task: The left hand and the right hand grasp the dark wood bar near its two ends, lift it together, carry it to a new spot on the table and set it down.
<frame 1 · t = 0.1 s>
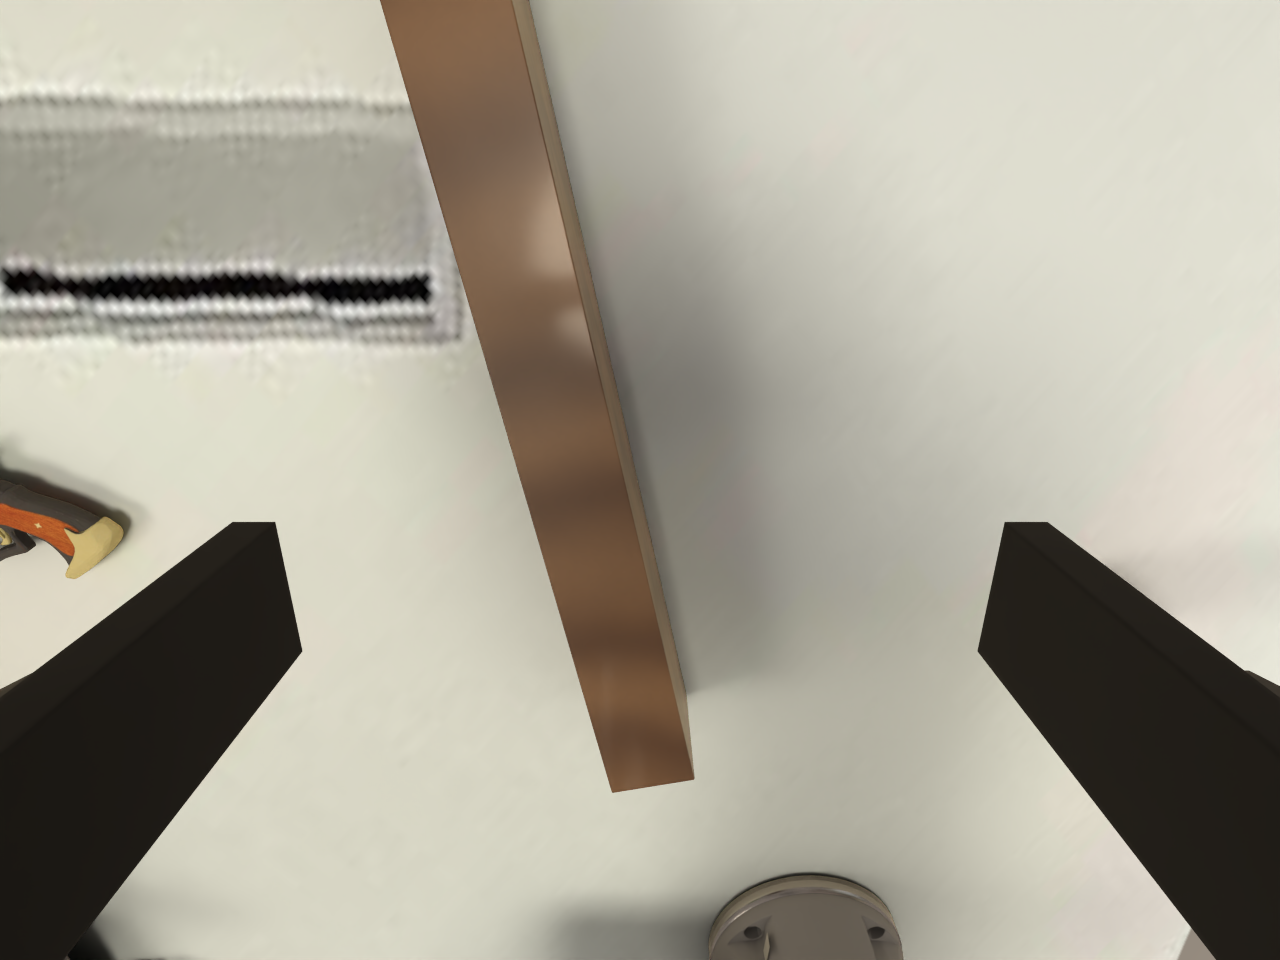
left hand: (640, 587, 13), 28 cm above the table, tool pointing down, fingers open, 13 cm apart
bar: (514, 156, 35), on the table
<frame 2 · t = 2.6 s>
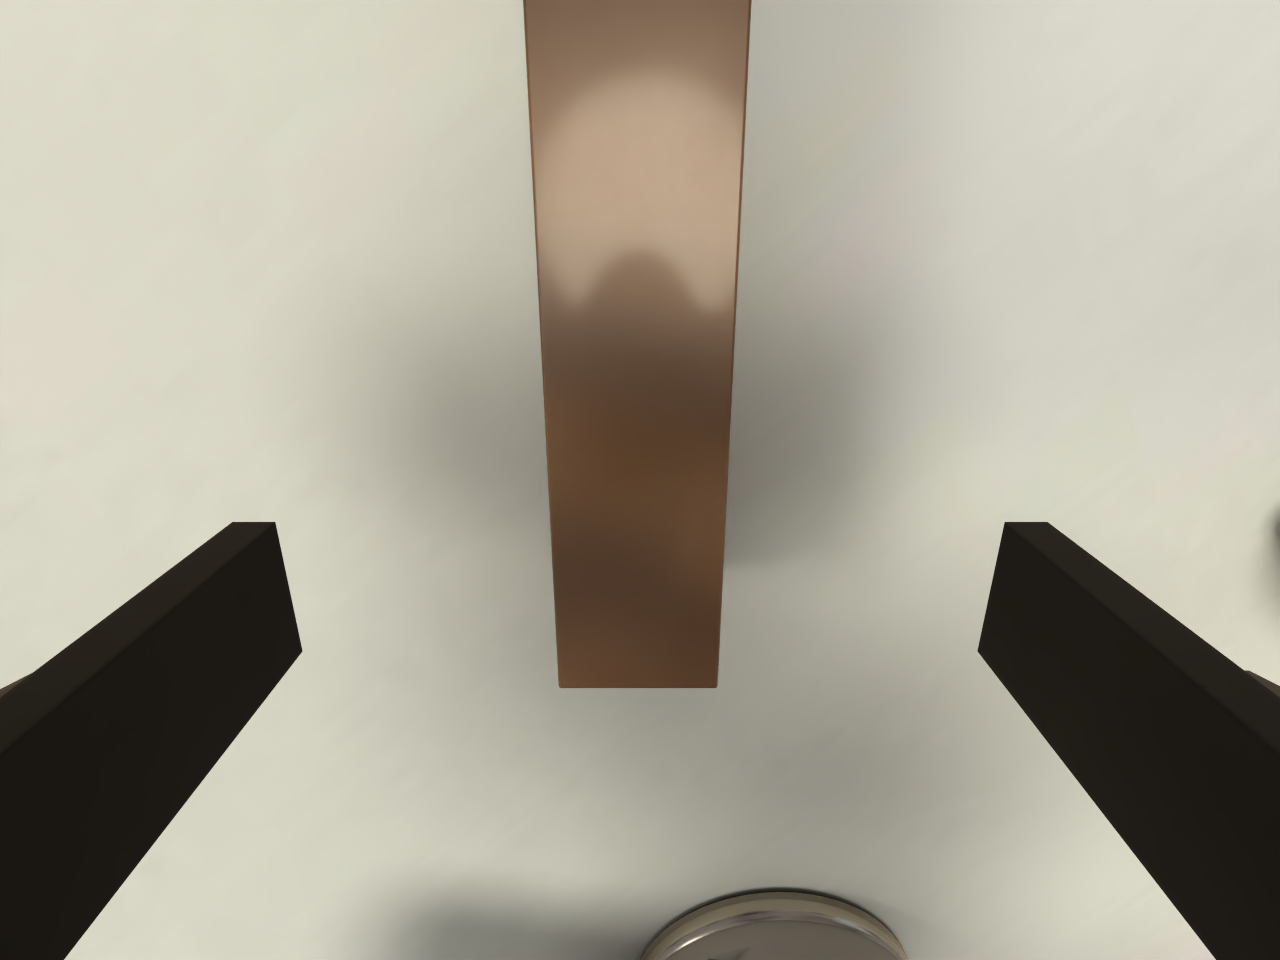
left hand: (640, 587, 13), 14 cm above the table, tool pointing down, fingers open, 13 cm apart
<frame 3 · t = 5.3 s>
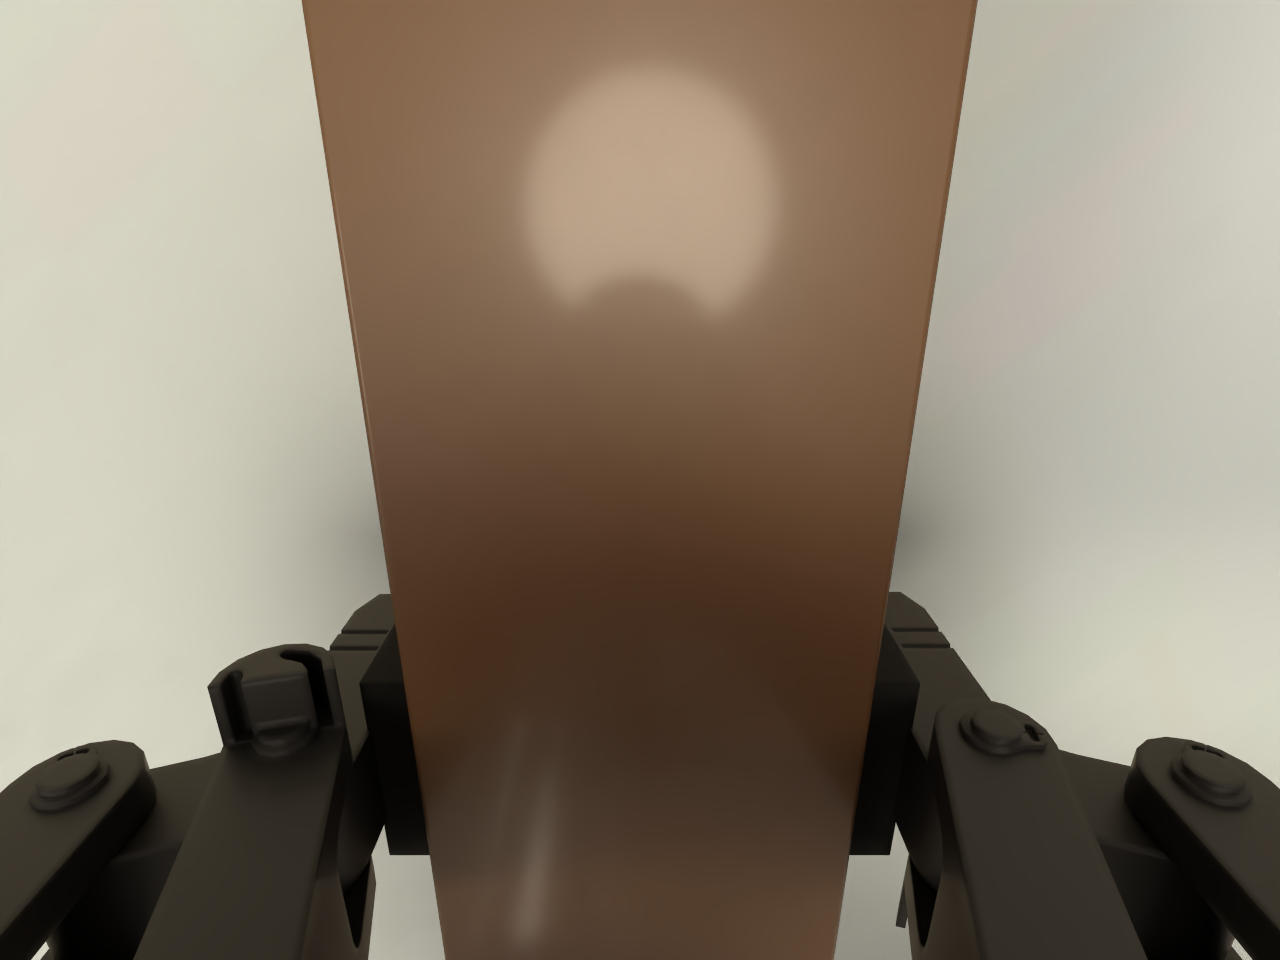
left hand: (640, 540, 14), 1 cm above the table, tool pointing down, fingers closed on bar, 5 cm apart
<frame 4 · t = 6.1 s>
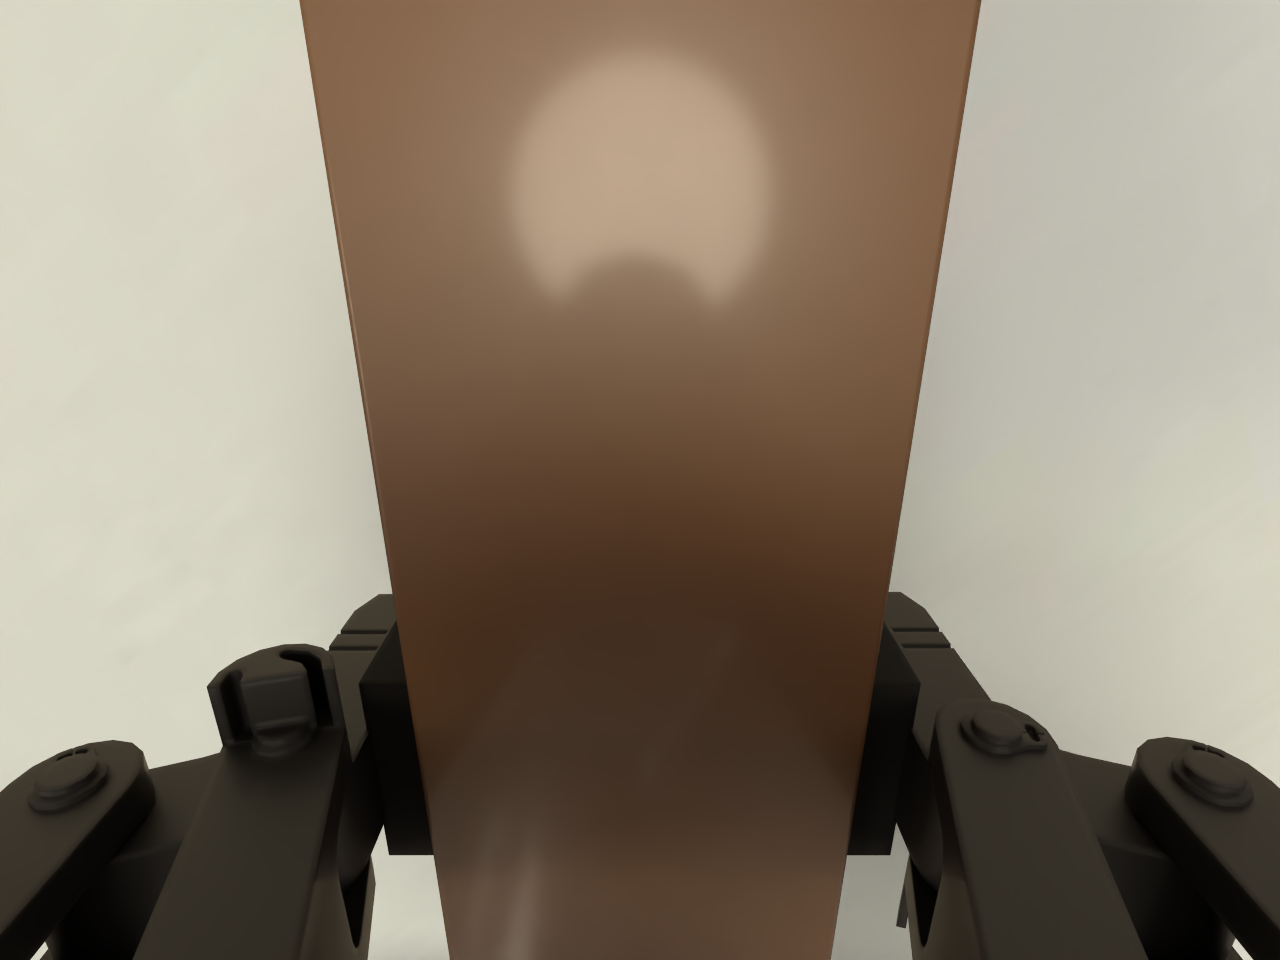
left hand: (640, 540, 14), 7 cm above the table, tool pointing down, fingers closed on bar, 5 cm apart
when the left hand's fingers open (2 cm above the table, at t = 9.8 s): bar drops 1 cm, on the table.
when the right hand's fingers open (4 cm above the table, at t = 9.9 s): bar stays where it is, on the table.
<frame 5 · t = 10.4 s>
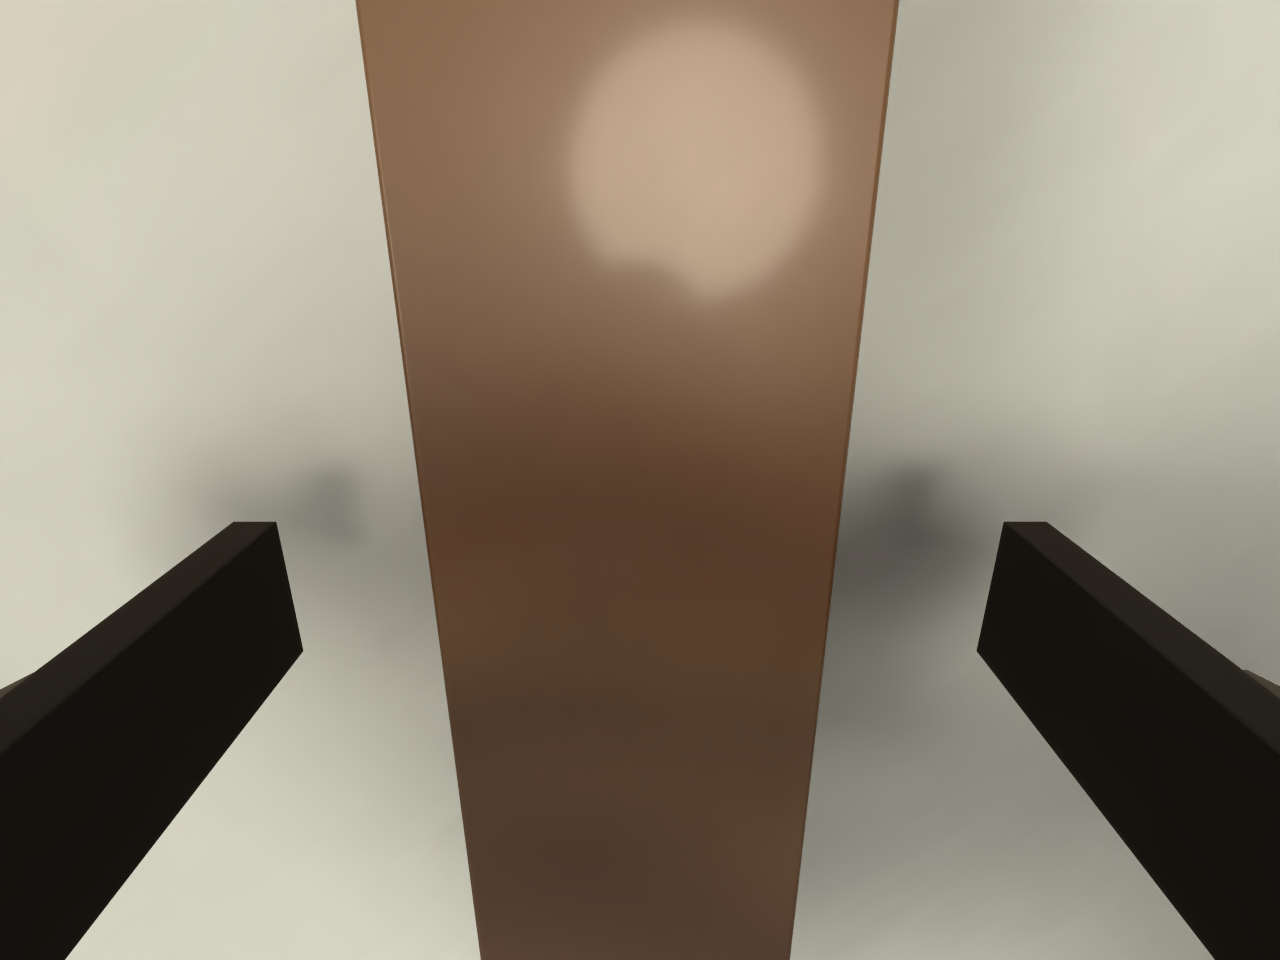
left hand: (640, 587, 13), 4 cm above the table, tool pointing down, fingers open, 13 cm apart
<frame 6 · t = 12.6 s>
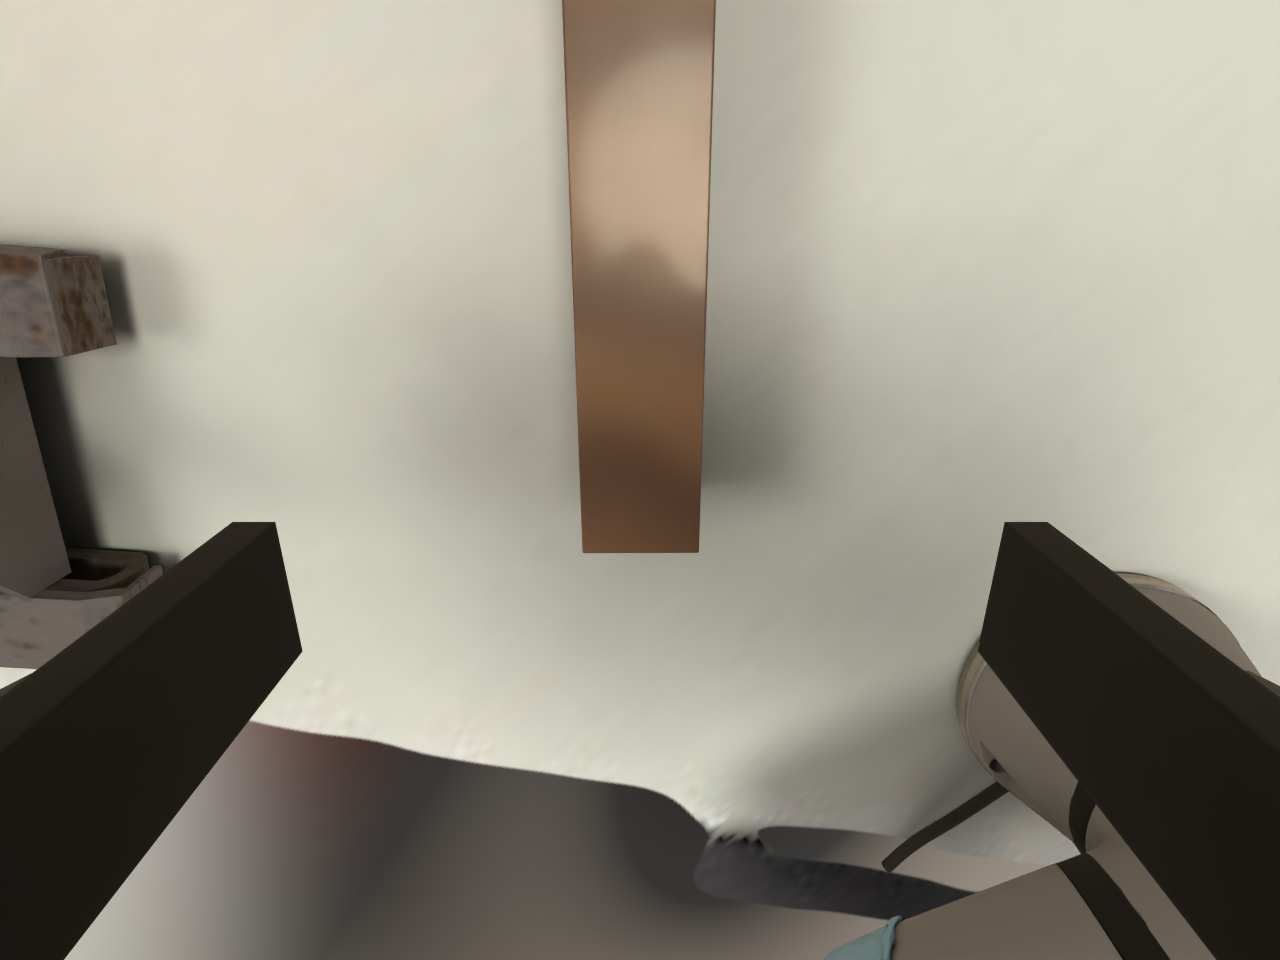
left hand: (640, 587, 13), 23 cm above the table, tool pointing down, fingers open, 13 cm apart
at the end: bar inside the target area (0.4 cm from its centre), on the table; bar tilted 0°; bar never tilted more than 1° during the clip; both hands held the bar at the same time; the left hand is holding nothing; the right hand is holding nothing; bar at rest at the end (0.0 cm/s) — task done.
